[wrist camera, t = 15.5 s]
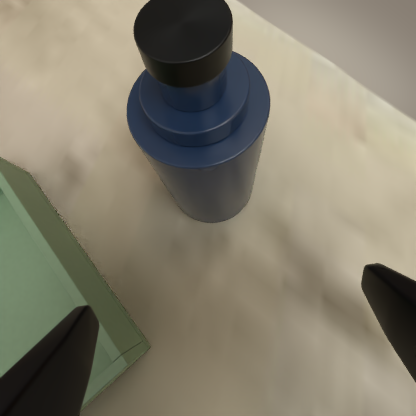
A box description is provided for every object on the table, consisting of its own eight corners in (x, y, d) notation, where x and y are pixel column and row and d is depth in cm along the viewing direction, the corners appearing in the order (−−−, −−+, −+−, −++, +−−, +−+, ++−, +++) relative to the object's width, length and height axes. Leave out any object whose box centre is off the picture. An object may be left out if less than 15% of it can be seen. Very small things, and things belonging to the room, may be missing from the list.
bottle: (242, 231, 19) (265, 129, 6) (162, 212, 20) (49, 92, 7) (259, 156, 20) (304, -42, 8) (184, 142, 21) (121, -55, 9)
